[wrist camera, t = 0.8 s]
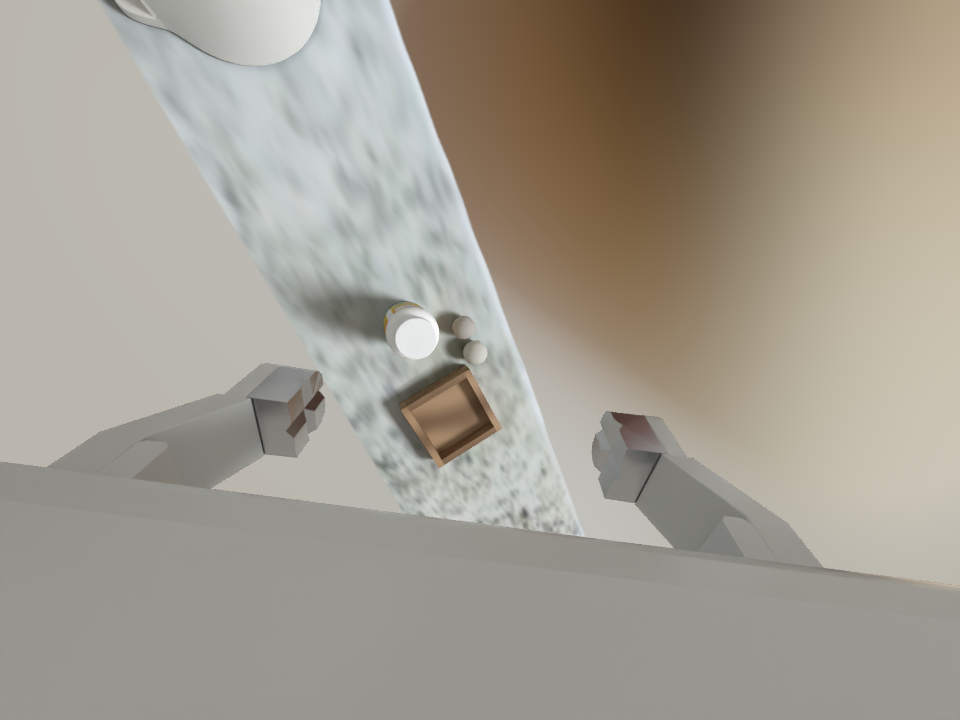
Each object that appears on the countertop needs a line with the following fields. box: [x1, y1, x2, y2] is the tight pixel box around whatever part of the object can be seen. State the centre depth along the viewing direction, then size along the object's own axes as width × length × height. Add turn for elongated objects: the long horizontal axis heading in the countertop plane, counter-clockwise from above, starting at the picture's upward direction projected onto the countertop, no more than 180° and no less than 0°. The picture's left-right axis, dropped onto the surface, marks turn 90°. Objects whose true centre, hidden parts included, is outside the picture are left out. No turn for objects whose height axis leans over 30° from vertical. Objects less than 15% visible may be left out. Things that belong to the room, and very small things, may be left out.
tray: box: [399, 365, 502, 468], centre depth 45 cm, size 10×10×2 cm
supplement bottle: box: [383, 302, 439, 359], centre depth 37 cm, size 5×5×10 cm
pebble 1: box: [452, 316, 475, 339], centre depth 42 cm, size 3×3×3 cm
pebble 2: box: [463, 341, 487, 365], centre depth 44 cm, size 3×3×3 cm
